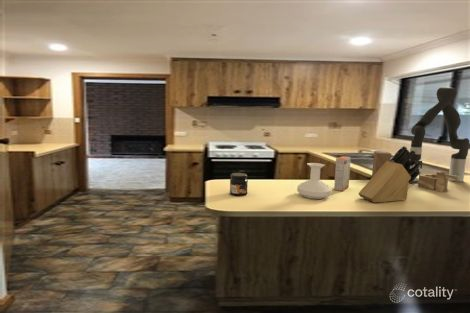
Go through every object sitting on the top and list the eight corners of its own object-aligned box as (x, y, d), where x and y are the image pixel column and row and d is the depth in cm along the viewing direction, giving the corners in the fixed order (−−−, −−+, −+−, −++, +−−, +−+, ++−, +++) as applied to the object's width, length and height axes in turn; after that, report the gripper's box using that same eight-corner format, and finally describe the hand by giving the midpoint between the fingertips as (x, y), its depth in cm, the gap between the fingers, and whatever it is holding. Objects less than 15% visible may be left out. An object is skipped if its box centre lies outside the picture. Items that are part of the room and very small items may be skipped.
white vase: (317, 190, 196) (319, 161, 193) (338, 199, 177) (341, 166, 175) (290, 193, 189) (292, 162, 186) (308, 202, 171) (311, 168, 168)
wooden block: (388, 179, 235) (391, 153, 232) (374, 178, 237) (377, 152, 234) (385, 176, 245) (387, 151, 242) (371, 175, 247) (374, 151, 244)
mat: (411, 178, 240) (411, 178, 240) (427, 182, 228) (427, 181, 228) (397, 180, 234) (397, 179, 234) (412, 184, 222) (413, 183, 222)
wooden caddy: (431, 184, 221) (433, 167, 219) (454, 190, 206) (456, 172, 204) (417, 186, 215) (419, 168, 213) (440, 192, 201) (443, 173, 199)
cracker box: (339, 186, 210) (342, 155, 207) (348, 187, 207) (351, 156, 204) (333, 190, 199) (335, 158, 196) (342, 191, 195) (345, 159, 192)
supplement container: (231, 197, 177) (231, 176, 176) (228, 192, 188) (228, 172, 186) (249, 196, 179) (249, 176, 178) (245, 191, 190) (245, 172, 188)
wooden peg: (439, 175, 206) (439, 171, 206) (458, 179, 195) (459, 175, 194) (436, 176, 205) (436, 171, 205) (455, 180, 194) (456, 175, 193)
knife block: (419, 199, 182) (425, 147, 177) (371, 204, 171) (376, 148, 166) (403, 194, 192) (409, 145, 187) (357, 198, 181) (361, 146, 176)
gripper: (413, 154, 221) (411, 176, 224) (426, 153, 227) (424, 175, 230) (404, 152, 228) (401, 174, 231) (417, 152, 234) (415, 173, 236)
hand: (413, 174), depth 230 cm, fingers open, 8 cm apart
